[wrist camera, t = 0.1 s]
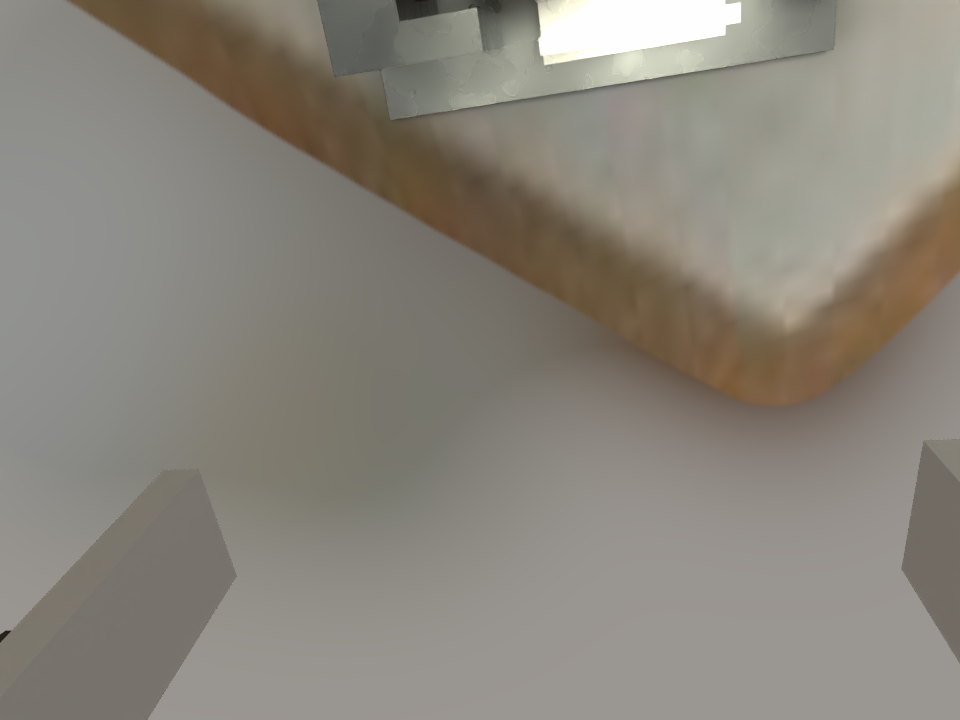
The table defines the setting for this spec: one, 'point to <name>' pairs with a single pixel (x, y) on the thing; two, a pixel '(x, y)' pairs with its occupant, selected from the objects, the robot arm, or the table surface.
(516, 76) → the base
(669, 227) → the table surface
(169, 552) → the robot arm
